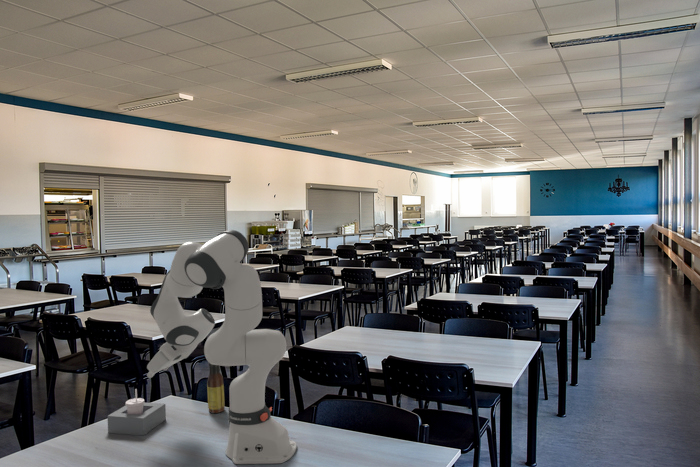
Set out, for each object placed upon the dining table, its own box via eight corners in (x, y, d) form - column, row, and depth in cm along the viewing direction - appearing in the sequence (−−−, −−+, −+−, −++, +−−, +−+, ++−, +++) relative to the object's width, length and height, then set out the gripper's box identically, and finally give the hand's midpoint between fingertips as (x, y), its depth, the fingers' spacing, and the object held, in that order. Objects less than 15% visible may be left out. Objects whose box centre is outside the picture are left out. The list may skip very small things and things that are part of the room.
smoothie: (138, 431, 180) (137, 392, 179) (122, 430, 181) (121, 391, 180) (148, 424, 186) (147, 386, 186) (132, 423, 187) (131, 385, 187)
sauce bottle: (217, 406, 202) (216, 357, 202) (228, 409, 199) (226, 359, 198) (204, 411, 197) (202, 361, 197) (214, 415, 194) (213, 363, 193)
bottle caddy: (165, 419, 190) (165, 403, 190) (143, 435, 177) (143, 418, 176) (132, 417, 193) (132, 401, 193) (108, 432, 179) (107, 415, 179)
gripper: (189, 333, 191) (166, 358, 193) (158, 346, 171) (133, 374, 173) (200, 345, 191) (177, 370, 193) (171, 360, 171) (145, 387, 173)
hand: (156, 372), depth 183 cm, fingers open, 8 cm apart
